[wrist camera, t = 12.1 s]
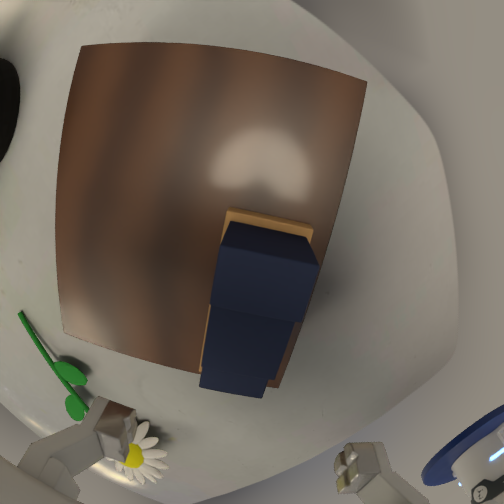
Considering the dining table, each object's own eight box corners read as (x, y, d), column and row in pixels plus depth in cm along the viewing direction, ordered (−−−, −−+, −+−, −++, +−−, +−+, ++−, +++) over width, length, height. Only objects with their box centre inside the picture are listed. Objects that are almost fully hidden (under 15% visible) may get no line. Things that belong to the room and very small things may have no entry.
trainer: (228, 206, 18) (214, 231, 12) (310, 224, 18) (330, 256, 13) (201, 361, 22) (187, 416, 16) (265, 373, 22) (265, 429, 16)
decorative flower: (14, 321, 32) (132, 467, 37) (-6, 334, 28) (123, 486, 32) (55, 285, 31) (190, 456, 35) (31, 297, 26) (183, 480, 30)
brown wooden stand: (340, 97, 21) (367, 81, 15) (275, 342, 28) (278, 388, 22) (119, 64, 20) (81, 45, 14) (95, 299, 28) (63, 333, 22)
